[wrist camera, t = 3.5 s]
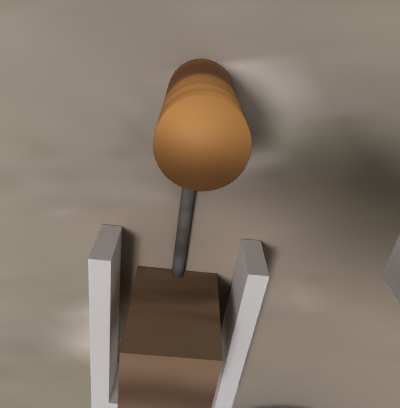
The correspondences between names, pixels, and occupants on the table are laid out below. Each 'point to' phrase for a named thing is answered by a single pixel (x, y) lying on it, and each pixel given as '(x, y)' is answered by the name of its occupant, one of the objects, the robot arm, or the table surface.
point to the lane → (109, 317)
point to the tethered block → (184, 249)
